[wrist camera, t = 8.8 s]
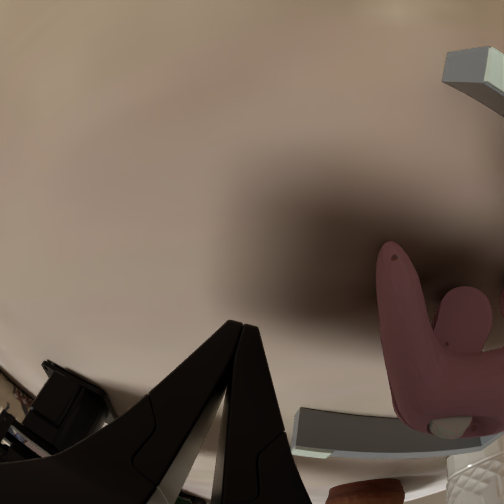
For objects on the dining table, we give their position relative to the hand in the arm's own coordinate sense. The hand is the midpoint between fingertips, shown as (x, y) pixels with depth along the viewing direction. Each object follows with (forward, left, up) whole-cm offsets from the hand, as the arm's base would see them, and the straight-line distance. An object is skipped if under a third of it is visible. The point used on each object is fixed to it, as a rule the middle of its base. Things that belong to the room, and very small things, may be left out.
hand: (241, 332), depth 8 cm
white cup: (-14, -24, -3) cm, 28 cm away
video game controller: (+2, -9, -3) cm, 10 cm away
